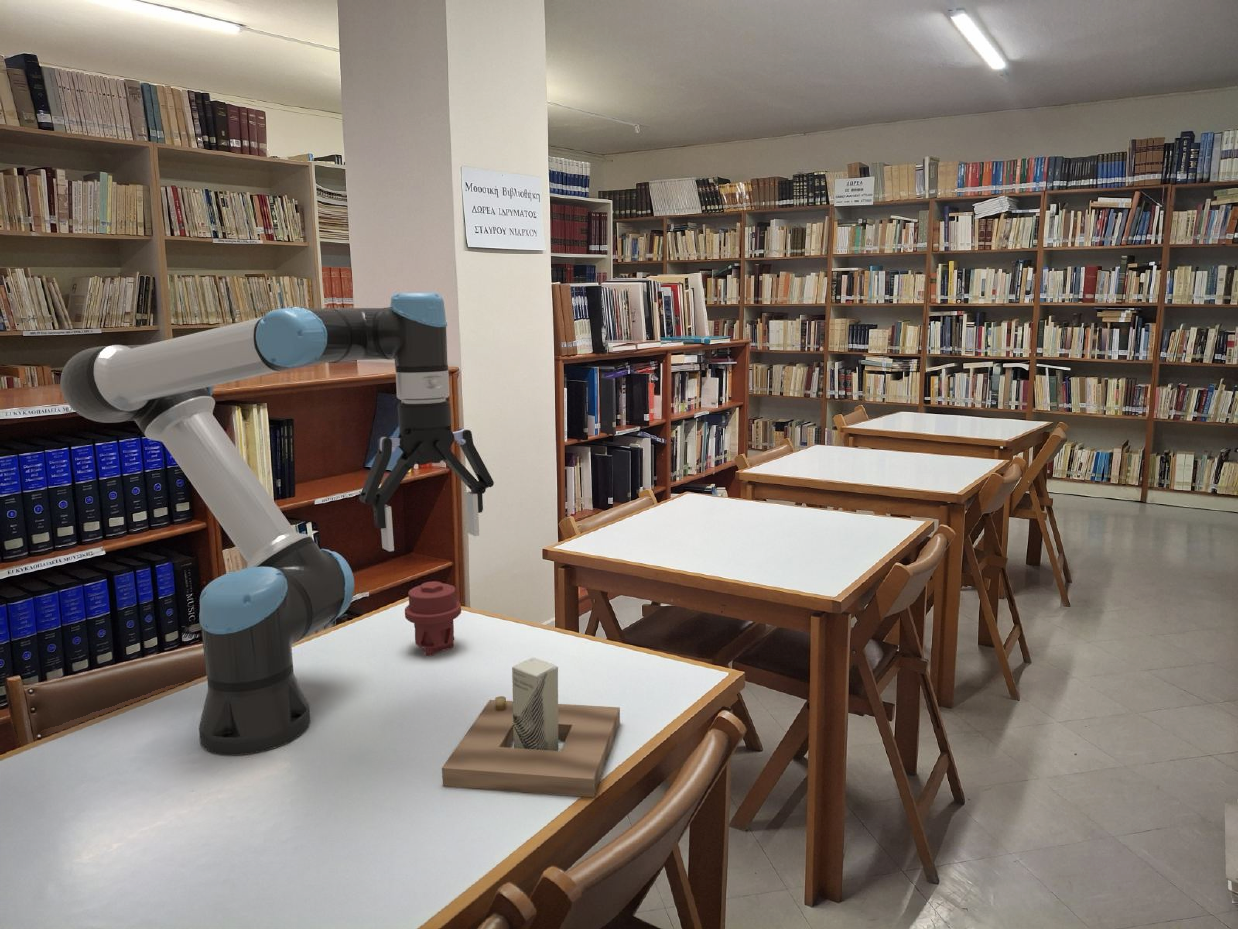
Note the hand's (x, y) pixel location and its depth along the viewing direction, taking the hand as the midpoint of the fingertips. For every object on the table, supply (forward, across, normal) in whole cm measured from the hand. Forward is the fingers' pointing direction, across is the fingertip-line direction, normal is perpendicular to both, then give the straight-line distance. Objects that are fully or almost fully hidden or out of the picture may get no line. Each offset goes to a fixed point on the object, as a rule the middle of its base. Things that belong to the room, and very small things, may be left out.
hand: (431, 541), depth 129 cm
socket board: (+27, +5, -21) cm, 34 cm away
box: (+27, +5, -21) cm, 34 cm away
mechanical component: (+27, +9, +23) cm, 37 cm away
